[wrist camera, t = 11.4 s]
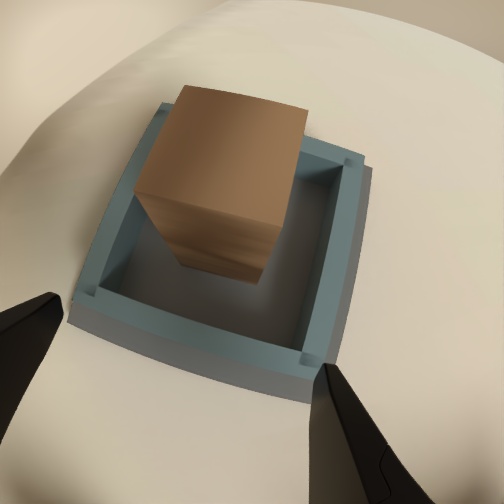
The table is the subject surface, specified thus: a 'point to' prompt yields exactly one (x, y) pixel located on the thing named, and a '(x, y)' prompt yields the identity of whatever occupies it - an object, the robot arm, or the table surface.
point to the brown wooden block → (222, 179)
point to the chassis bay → (233, 281)
